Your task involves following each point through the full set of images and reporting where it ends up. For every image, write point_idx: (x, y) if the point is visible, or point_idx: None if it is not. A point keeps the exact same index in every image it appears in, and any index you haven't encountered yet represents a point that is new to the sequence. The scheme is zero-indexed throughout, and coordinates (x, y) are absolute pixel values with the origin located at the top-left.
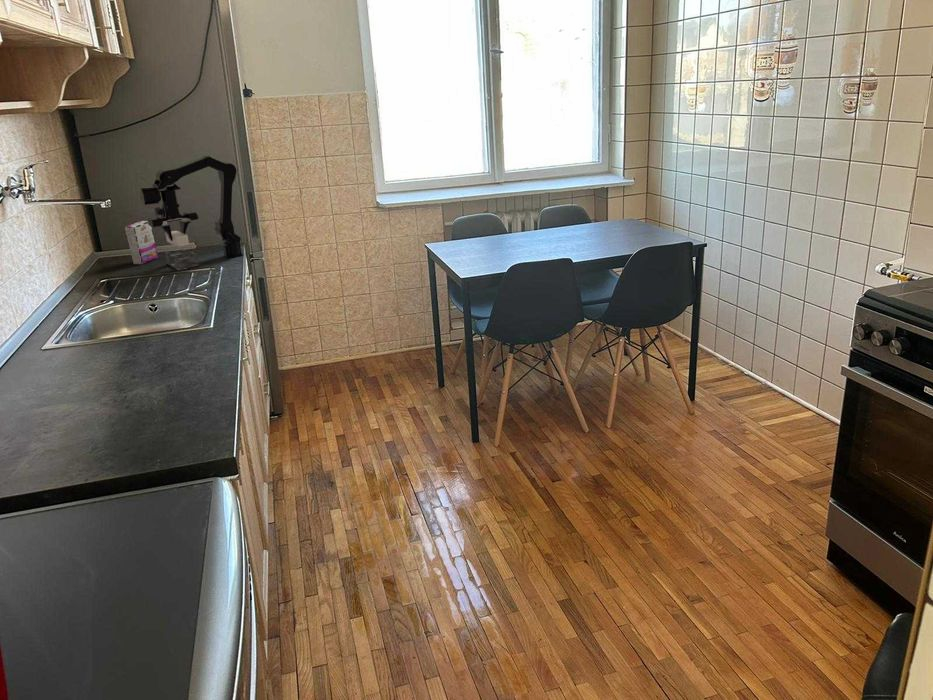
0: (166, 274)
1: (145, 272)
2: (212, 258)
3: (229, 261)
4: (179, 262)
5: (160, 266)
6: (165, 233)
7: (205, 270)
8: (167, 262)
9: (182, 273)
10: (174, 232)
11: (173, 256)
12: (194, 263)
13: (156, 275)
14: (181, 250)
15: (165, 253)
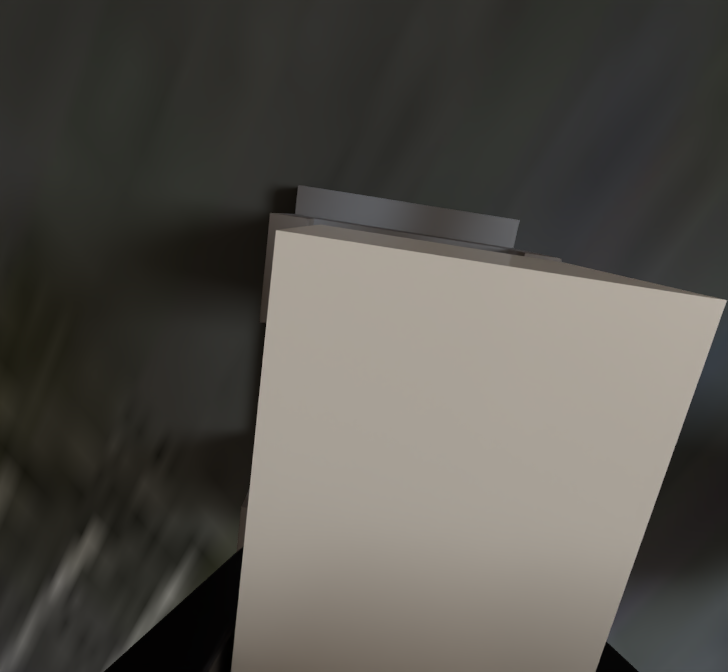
0: (136, 512)
1: (22, 281)
2: (706, 399)
3: (688, 613)
4: None
5: (224, 198)
6: (281, 235)
7: None
8: None
9: None
10: (478, 539)
11: (242, 506)
12: None
13: (61, 467)
14: (518, 251)
15: (273, 224)
